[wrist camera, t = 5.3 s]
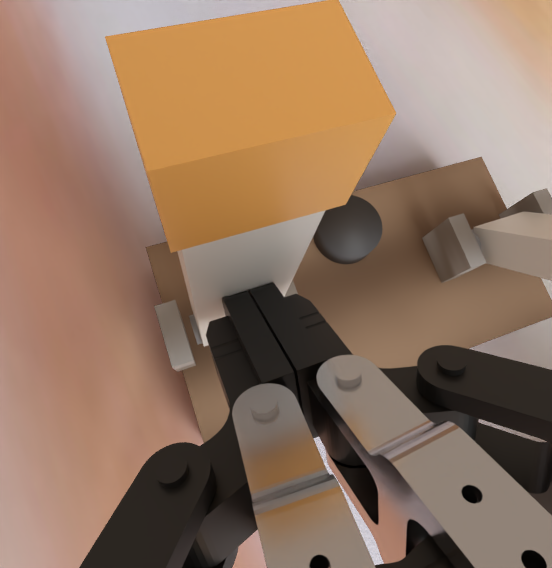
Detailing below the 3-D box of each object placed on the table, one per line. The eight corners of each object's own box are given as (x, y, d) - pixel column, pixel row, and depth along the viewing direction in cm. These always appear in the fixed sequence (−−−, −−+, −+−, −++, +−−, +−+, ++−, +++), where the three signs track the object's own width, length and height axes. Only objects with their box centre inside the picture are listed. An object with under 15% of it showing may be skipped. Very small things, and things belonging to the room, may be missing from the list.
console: (520, 323, 24) (605, 302, 19) (202, 442, 20) (198, 458, 15) (454, 182, 26) (515, 128, 21) (150, 268, 22) (131, 227, 17)
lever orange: (275, 332, 18) (396, 113, 6) (201, 356, 17) (146, 171, 5) (259, 288, 19) (338, -2, 6) (187, 310, 18) (104, 37, 5)
